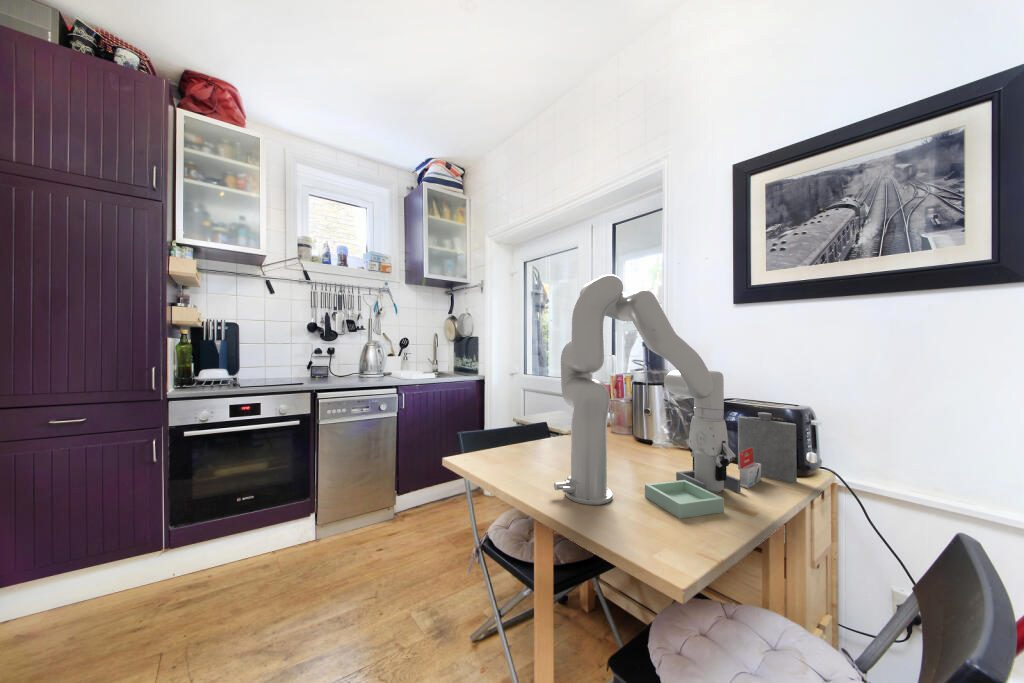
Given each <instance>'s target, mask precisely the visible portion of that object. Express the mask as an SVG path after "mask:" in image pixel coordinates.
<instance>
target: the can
mask: <svg viewBox="0 0 1024 683" xmlns="http://www.w3.org/2000/svg"><path fill="white" fill-rule="evenodd" d="M697 448H698V450H695V451H694V469H695V479H696V480H698V481H701V482H703V483H705V484H706V490H707V491H709V492H711V493H713V494H715V493H716V494H717V493H721V492H722V491H723V490H724V489H725V487H724V481H717V480H716V466H718V465H717V463H716V460H715V457H711V456H709V455H707V454H706V453H705V452H704V450H705V449H702V448H699V447H697ZM720 454H721V453H720ZM719 458H720V460H721V461H722V457H719Z"/></svg>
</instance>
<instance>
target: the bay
mask: <svg viewBox="0 0 1024 683" xmlns="http://www.w3.org/2000/svg"><path fill="white" fill-rule="evenodd" d="M675 473H676V474H675V477H676V479H675V481H679V480H686V481H688V482H690V483H692V484H694V485H696V486H699V487H701V488H703V489H705V490H706V484H705V483H703V482H701V481H698V480H696V479H695V471H693V469H692V470H684V471H676V472H675ZM725 488H726V489H728V490H730V491H733V492H735V493H738V494H739V493H741V490H742V489H741V480H740V478H737V477H735V476H731V475H729V474H727V479H726V480H724V489H725Z"/></svg>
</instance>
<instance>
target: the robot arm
mask: <svg viewBox="0 0 1024 683" xmlns="http://www.w3.org/2000/svg"><path fill="white" fill-rule="evenodd" d="M623 291H624V284H623V281H622V280H621V278H620V277H619V276H617V275H615V274H605V275H601V276H599V277H598V278H595V279H594V280H591V281H590V282H588V283H586V284H585V285H583V287H582V288H581V290H580V292H579V296H578V299H577V300H576V302H575V305H574V308H573V311H572V317H571V341H569V342H567V343H566V344H565V345H564V346H563V349H562V351H561V355H560V382H561V383H560V384H561V394H562V398H563V401H564V402H565V403H566V404H567V405H568V406H569V407H570V408H572V409H573V412H572V417H571V426H570V476H567V477H566V478H567V479H566V480H564V481H563V482H562V481H558V482H554V484H553V489H554V490H555V491H562V492H563V493H565V496H566V498H568V499H569V500H570V501H574V502H575V503H579V504H582V505H589V506H591V505H594V506H595V505H596V506H598V505H599V506H600V505H604V504H607V503H610V502H611V501H612V500H613V498H614V497H613V496H614V494H613V492H612V490H611V489H610V488H608V487H607V482H608V479H607V477H608V474H607V472H608V470H607V468H608V466H607V465H608V457H607V456H608V450H607V449H608V445H607V444H608V439H607V438H608V435H607V434H608V419H609V418H608V417H609V412H610V411H609V410H610V407H611V406H610V405H611V396H610V393H609V389H608V388H607V387H606V385H605V384H603V383H602V382H601V381H599V380H597V379H595V378H593V376H592V375H593V374H594V373H596V372H599V371H600V370H601V369H602V367H603V365H604V363H605V348H604V347H605V346H604V321H605V317H608V318H611V319H614V320H617V321H622V322H627V323H628V322H629V323H630V322H632V323H633V325H634V326H635V329H636V330H637V331H638V333H639V335H640V337H641V339H642V341H643V343H644V345H645V347H646V348H647V349H649V350H650V351H651V352H653V353H654V354H656V355H658V356H659V357H661V358H663V359H664V360H666V361H668V362H669V363H670V364H671V365H672V366H673V367H674V368H675V369H676V370H675V369H674V370H671V371H670V372H667V374H666V375H665V377H664V379H663V384H664V387H665V389H666V390H667V391H668V392H670V394H673V395H676V396H680V397H685V398H690V399H693V408H692V411H693V412H694V413H693V415H692V418H691V422H690V426H689V434H688V436H689V438H687V439H686V440H685V443H686V445H687V447H688V450H689V452H690V456H691V457H692V470H693V471H695V469H694V451H695V450H698V448H697V447H699V448H702V449H705V450H704V452H705V453H706V454H707V455H709V456H711V457H715V460H716V463H717V465H718V466H716V480H717V481H724V480H726V479H727V475H728V474H727V473H728V472H727V467H729V465H730V464H731V463H732V462H733V461H734V460H735V458H736V457H737V456H736V454H735V452H733V450H732V449H731V448H730V446H729V436H728V435H729V434H728V428H727V423H726V420H725V412H724V411H725V408H724V407H725V405H724V404H725V403H724V402H725V401H724V400H725V399H724V398H725V395H724V394H725V393H724V391H725V389H724V387H725V386H724V380H725V379H724V375H723V373H722V372H720V371H718V370H709V368H708V367H707V365H706V363H705V362H704V359H702V357H701V356H700V355H699V353H698V352H697V350H695V349H693V347H692V346H690V344H688V343H687V342H686V340H684V339H683V338H681V336H679V335H678V334H677V333H676V331H675V330H674V328H673V325H672V324H671V322H670V320H669V319H668V317H667V315H666V314H665V311H664V310H663V308H662V306H661V305H660V303H659V301H658V299H657V297H656V296H655V294H654V292H652V291H650V290H647V289H638V290H634V291H630V292H628V293H626V292H623ZM720 453H721V454H720ZM719 457H722V461H721V460H720V458H719Z"/></svg>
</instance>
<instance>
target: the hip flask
mask: <svg viewBox="0 0 1024 683" xmlns="http://www.w3.org/2000/svg"><path fill="white" fill-rule="evenodd" d="M757 415H758V417H755V416H742V415H741V416H739V415H738V416H737V469H738V470H739V471H740V460H739V453H740V452H743V451H745V450H747V449H749V448H751V447H752V449H753V462H754V463H759V464H761V477H763V478H768V479H771V480H777V481H780V480H781V482H785V483H791V484H792V483H793V484H796V483H798V481H797V470H798V468H797V424H796V423H792V422H784V421H777V420H776V421H775V420H772V418H771V417H772V416H773V415H772V413H770V412H759V411H758V412H757ZM746 456H748V453H747V452H746V454H745V457H746Z"/></svg>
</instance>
